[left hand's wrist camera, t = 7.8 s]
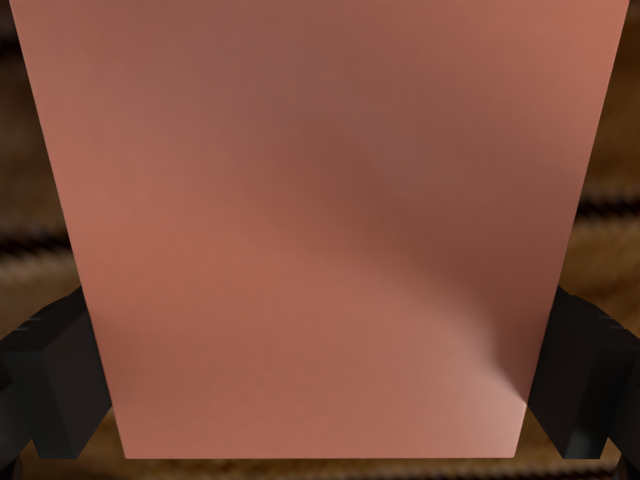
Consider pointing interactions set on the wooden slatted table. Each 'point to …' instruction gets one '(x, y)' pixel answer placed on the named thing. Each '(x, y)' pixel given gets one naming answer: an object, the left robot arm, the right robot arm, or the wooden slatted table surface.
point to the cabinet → (319, 211)
